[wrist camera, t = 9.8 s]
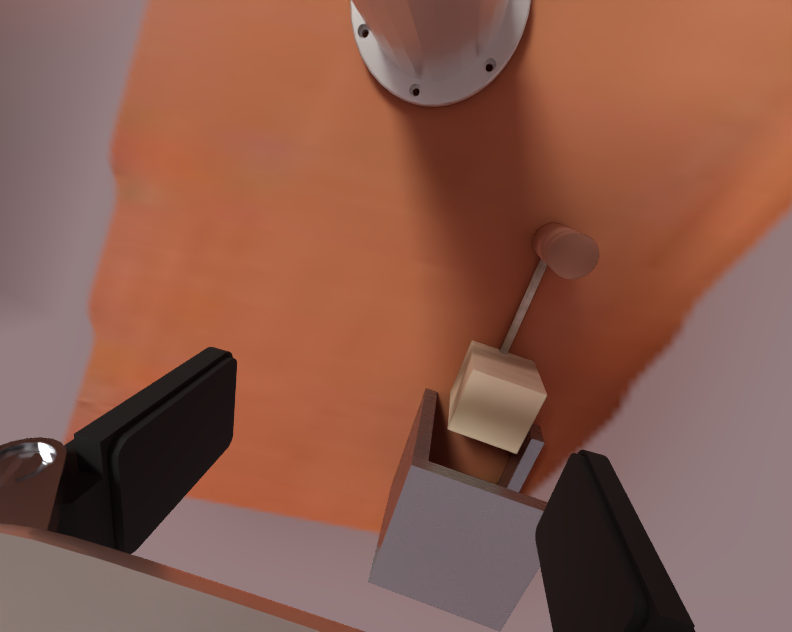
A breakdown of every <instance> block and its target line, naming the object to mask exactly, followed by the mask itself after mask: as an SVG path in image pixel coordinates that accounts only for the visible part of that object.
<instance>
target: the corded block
mask: <svg viewBox="0 0 792 632" xmlns="http://www.w3.org/2000/svg"><path fill="white" fill-rule="evenodd" d="M532 246H533V249H534V251H535V253H536V254H537V255H538V256H539V257H540V258H541V259H540V261H539V263H538V266H537V268H536V270H535V272H534V275H533V277H532V279H531V282H530V284H529V286H528V288H527V291H526V293H525V295H524V297H523V300H522V302H521V304H520V306H519V309H518V311H517V313H516V315H515V318H514V320H513V322H512V324H511V327H510V329H509V331H508V333H507V336H506V338H505V340H504V343H503V345H502V347H501V349H497V348H494V347H491V346H488V345H485V344H482V343H479V342H476V341H473V340H472V341H471V343H470V346H469V348H468V350H467V353H466V355H465V358H464V360H463V363H462V365H461V368H460V370H459V373H458V375H457V378H456V380H455V383H454V385H453V387H452V390H451V392H450V405H449V419H448V430H451V431H454V432H456V433H459V434H462V435H465V436H468V437H471V438H473V439H476V440H479V441H482V442H485V443H487V444H490V445H493V446H496V447H499V448H501V449H504V450H507V451H510V452H513V453H515V454H517V452H518V450H519V448H520V447H521V445H522V443H523V441H524V439H525V437H526V435H527V433H528V431H529V429H530V427H531V425H532V424H533V422H534V420H535V418H536V416H537V414H538V412H539V410H540V408H541V406H542V404H543V402H544V401H545V399H546V397H547V393H546V391H545V388H544V385H543V383H542V380H541V378H540V375H539V372H538V370H537V367H536V365H535V362H534V361H532V360H529V359H526V358H523V357H520V356H517V355H514V354H512V353H509V352H508V351H509V349H510V347H511V344H512V342H513V340H514V338H515V336H516V333H517V331H518V329H519V327H520V325H521V322H522V320H523V318H524V316H525V313H526V311H527V309H528V307H529V305H530V302H531V300H532V298H533V296H534V294H535V291H536V289H537V287H538V285H539V283H540V280H541V278H542V276H543V274H544V272H545V269H546V267H547V265H548V266H549V267H550V268H551V269H552V270H553V271H554V272H555V273H556V274H557V275H559V276H560V277H562V278H565V279H578V278H581V277H584V276H586V275H587V274H589V273H590V272H591V271H592V270H593V269H594V267H595V266H596V264H597V262H598V259H599V249H598V246H597V244H596V242H595V241H594V240H593V239H592V238H591V237H589V236H587V235H585V234H582V233H580V232H578V231H575V230H573V229H571V228H568V227H566V226H564V225H561V224H559V223H549V224H546V225H543V226H542V227H540V228H539V229H538V230H537V231H536V233H535V235H534V237H533V241H532Z"/></svg>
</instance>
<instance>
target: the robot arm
mask: <svg viewBox="0 0 792 632" xmlns="http://www.w3.org/2000/svg"><path fill="white" fill-rule="evenodd" d="M530 4H531V0H350V8H351V23H352V28H353V33H354V38H355V42H356V44H357V47H358V49H359V52H360V55H361V57H362V59H363V61H364V62H365V64H366V66H367V67H368V69H369V71H370V72H371V74H372V75H373V76H374V77H375V78H376V80H377V81H378V82H379V83H380V84H381V85H382V86H383V87H384V88H385V89H387V90H388V91H389V92H390V93H392V94H393V95H395V96H396V97H398V98H400V99H401V100H403V101H406V102H409V103H412V104H415V105H419V106H428V107H438V106H448V105H451V104H455V103H458V102H461V101H464V100H466V99H468V98H469V97H471V96H473V95H475V94H477V93H479V92H480V91H481V90H482V89H484V88H485V87H486V86H487V85H488V84H490V83H491V82H492V81H493V80H494V79H495V78H496V77H497V76H498V74H499V73H500V72H501V71H502V70H503V69H504V68H505V66H506V65H507V63H508V62H509V60H510V58H511V57H512V55H513V54H514V52H515V50H516V48H517V46H518V44H519V41H520V39H521V37H522V34H523V32H524V29H525V25H526V22H527V19H528V16H529V10H530ZM365 32H369V34H368V36H367V37H366V38H364V37H363V35H364V33H365ZM488 65H491V66H492V67H493V69H492V71H490V72H488V71H486V66H488ZM416 89H418V90H419V91H420V93H419V95H418V96H414V95H413V92H414V90H416ZM236 373H237V361H236V359H234V358H233V356H232V353H230V352H228V351H225V350H221V349H217V348H214V347H209V348H206V349H205V350H203V351H202V352H200V353H199V354H197V355H196V356H194V357H192V358H191V359H189V360H188V361H186V362H185V363H183V364H182V365H180V366H179V367H177V368H175V369H174V370H172V371H171V372H169V373H168V374H166V375H165V376H163V377H161V378H160V379H158V380H157V381H155V382H154V383H152V384H151V385H149V386H148V387H146V388H144V389H143V390H141V391H140V392H138V393H137V394H135V395H134V396H132V397H130V398H129V399H127V400H126V401H124V402H123V403H121V404H120V405H118V406H117V407H115V408H113V409H112V410H110V411H109V412H107V413H106V414H104V415H103V416H101V417H99V418H98V419H96V420H95V421H93V422H92V423H90V424H89V425H87V426H86V427H84V428H82V429H81V430H79V431H78V432H76V433H75V434H74V439H73V440H72V441H70V442H69V443H67V444H66V445H63V444H62V443H61V442H60V441H57V440H55V439H51V438H43V437H38V438H26V439H21V440H16V441H11V442H9V443H6V444H3V445H0V632H364V631H361V630H358V629H355V628H352V627H349V626H346V625H344V624H341V623H338V622H335V621H331V620H329V619H326V618H323V617H320V616H317V615H314V614H311V613H308V612H305V611H302V610H299V609H296V608H293V607H290V606H287V605H283V604H281V603H278V602H275V601H272V600H268V599H266V598H263V597H260V596H257V595H254V594H251V593H248V592H245V591H242V590H239V589H235V588H232V587H229V586H226V585H223V584H220V583H217V582H214V581H211V580H208V579H205V578H202V577H199V576H196V575H193V574H190V573H187V572H184V571H181V570H178V569H175V568H171V567H168V566H166V565H162V564H159V563H156V562H153V561H150V560H147V559H144V558H141V557H137V556H134V555H131V554H132V553H133V552H135V551H136V550H137V549H138V548H139V547H140V546H141V544H142V543H143V542H144V541H145V540H146V539H147V538H148V537H149V536H150V534H151V533H152V532H153V531H154V530H155V529H156V528H157V526H158V525H159V524H160V523H161V522H162V521H163V520H164V518H165V517H166V516H167V515H168V514H169V513H170V512H171V511H172V510H173V509H174V508H175V506H176V505H177V504H178V503H179V502H180V501H181V500H182V499H183V497H184V496H185V495H186V494H187V493H188V492H189V491H190V490H191V488H192V487H193V486H194V485H195V484H196V483H197V482H198V481H199V479H200V478H201V477H202V476H203V475H204V474H205V473H206V472H207V470H208V469H209V468H210V467H211V466H212V465H213V464H214V463H215V462H216V460H217V459H218V458H219V457H220V456H221V455H222V454H223V453H224V451H225V450H226V449H227V448H228V447H229V445H230V443H231V441H232V437H233V425H234V408H235V391H236ZM535 541H536V547H537V552H538V557H539V562H540V567H541V572H542V577H543V582H544V587H545V593H546V598H547V603H548V608H549V613H550V618H551V623H552V628H553V632H695V630H694V624H693V622H692V620H691V618H690V616H689V614H688V612H687V610H686V608H685V606H684V605H683V603H682V601H681V599H680V597H679V595H678V593H677V591H676V589H675V587H674V585H673V583H672V581H671V579H670V577H669V575H668V574H667V572H666V570H665V568H664V566H663V564H662V562H661V560H660V558H659V556H658V554H657V552H656V551H655V548H654V546H653V544H652V543H651V541H650V539H649V537H648V535H647V533H646V531H645V529H644V527H643V525H642V523H641V521H640V520H639V517H638V515H637V514H636V512H635V510H634V508H633V506H632V504H631V502H630V500H629V498H628V496H627V494H626V493H625V490H624V489H623V486H622V485H621V483H620V481H619V479H618V477H617V475H616V473H615V471H614V469H613V467H612V465H611V463H610V461H609V460H608V458H607V457H606V456H604V455H601V454H597V453H593V452H590V451H586V450H580V451H579V452H578V454H576V453H572V454H571V455H570V457H569V459H568V461H567V463H566V465H565V467H564V469H563V472H562V474H561V476H560V478H559V480H558V482H557V484H556V486H555V489H554V491H553V493H552V495H551V497H550V499H549V501H548V503H547V506H546V508H545V510H544V512H543V514H542V516H541V518H540V520H539V522H538V525H537V527H536V532H535Z"/></svg>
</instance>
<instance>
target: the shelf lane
mask: <svg viewBox="0 0 792 632" xmlns="http://www.w3.org/2000/svg"><path fill="white" fill-rule="evenodd" d="M436 399H437V392H435V391H432V390H429V389H426V390H425V392H424V395H423V398H422V401H421V404H420V407H419V409H418V412H417V415H416V418H415V421H414V423H413V426H412V429H411V432H410V435H409V438H408V440H407V443H406V446H405V449H404V452H403V455H402V457H401V460H400V463H399V466H398V469H397V472H396V474H395V477H394V480H393V483H392V486H391V490H390V494H389V498H388V502H387V506H386V510H385V514H384V519H383V523H382V527H381V531H380V535H379V539H378V543H377V547H376V551H375V556H374V560H373V564H372V568H371V572H370V577H369V580H368V582H369V583H372V584H375V585H377V586H380V587H383V588H386V589H388V590H391V591H394V592H396V593H399V594H401V595H404V596H407V597H409V598H412V599H415V600H417V601H420V602H423V603H426V604H428V605H431V606H434V607H436V608H439V609H442V610H444V611H447V612H450V613H452V614H455V615H458V616H460V617H463V618H466V619H469V620H471V621H474V622H476V623H479V624H482V625H484V626H487V627H490V628H493V629H495V630H498V631H501V629H502V628H503V626H504V624H505V623H506V621H507V620H508V618H509V616H510V615H511V613H512V611H513V610H514V608H515V606H516V605H517V603H518V601H519V600H520V598H521V597H522V595H523V593H524V592H525V590H526V588H527V587H528V585H529V583H530V582H531V580H532V579H533V577H534V575H535V574H536V572H537V570H538V569H539V567H540V562H539V557H538V552H537V547H536V541H535V532H536V527H537V525H538V522H539V520H540V518H541V516H542V514H543V512H544V510H545V508H546V506H547V503H548V502H545V501H541V500H539V499H536V498H533V497H530V496H528V495H525V494H522V493H519V491H520V489H521V487H522V485H523V483H524V481H525V479H526V477H527V476H528V474H529V472H530V470H531V468H532V466H533V464H534V462H535V460H536V458H537V456H538V455H539V453H540V451H541V449H542V447H543V445H544V443H545V442H544V439H543V436H542V433H541V430H540V426H537V425H534V424H532V425H531V427H530V429H529V431H528V433H527V435H526V437H525V439H524V441H523V443H522V445H521V447H520V448H519V450H518V452H517V454H515V453H512V455H511V457H510V459H509V461H508V464H507V466H506V468H505V470H504V472H503V474H502V476H501V478H500V480H499V482H498V484H497V485H496V484H493V483H490V482H487V481H484V480H481V479H479V478H476V477H473V476H470V475H467V474H464V473H461V472H458V471H456V470H453V469H450V468H447V467H444V466H441V465H438V464H435V463H432V462H430V461H428V460H429V452H430V445H431V437H432V429H433V422H434V414H435V407H436Z"/></svg>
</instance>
